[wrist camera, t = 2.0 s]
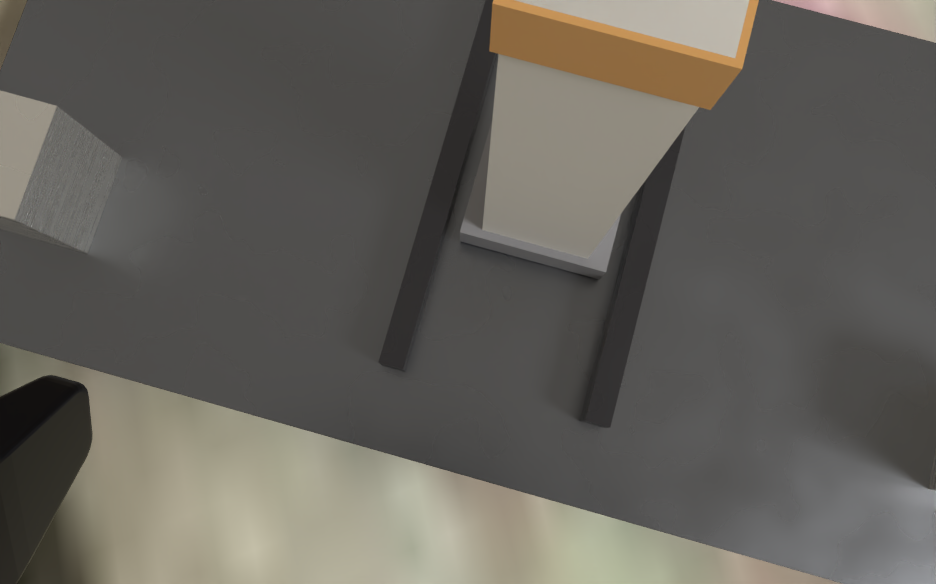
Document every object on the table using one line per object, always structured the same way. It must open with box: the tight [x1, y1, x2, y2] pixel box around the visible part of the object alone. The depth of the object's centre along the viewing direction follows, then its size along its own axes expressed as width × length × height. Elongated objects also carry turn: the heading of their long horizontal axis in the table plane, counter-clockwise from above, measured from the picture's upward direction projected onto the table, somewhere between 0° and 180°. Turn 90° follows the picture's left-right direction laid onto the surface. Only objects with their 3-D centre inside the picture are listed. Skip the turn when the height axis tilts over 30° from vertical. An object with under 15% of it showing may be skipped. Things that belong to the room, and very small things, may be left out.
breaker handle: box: [460, 0, 759, 279], centre depth 15 cm, size 3×4×12 cm
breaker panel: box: [0, 0, 936, 584], centre depth 20 cm, size 14×29×5 cm, turn 74°
